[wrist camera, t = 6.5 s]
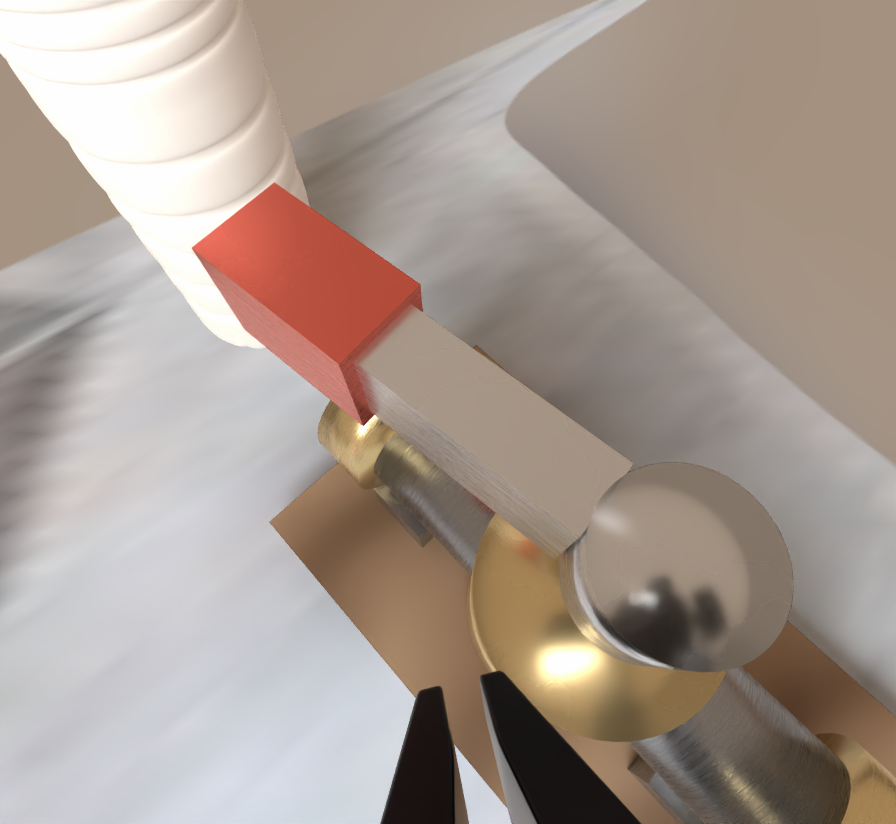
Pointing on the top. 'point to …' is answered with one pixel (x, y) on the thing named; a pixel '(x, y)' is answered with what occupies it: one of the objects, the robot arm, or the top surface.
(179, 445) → the top surface
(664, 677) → the valve body
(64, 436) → the top surface
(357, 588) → the valve board
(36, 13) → the water bottle
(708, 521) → the valve lever
